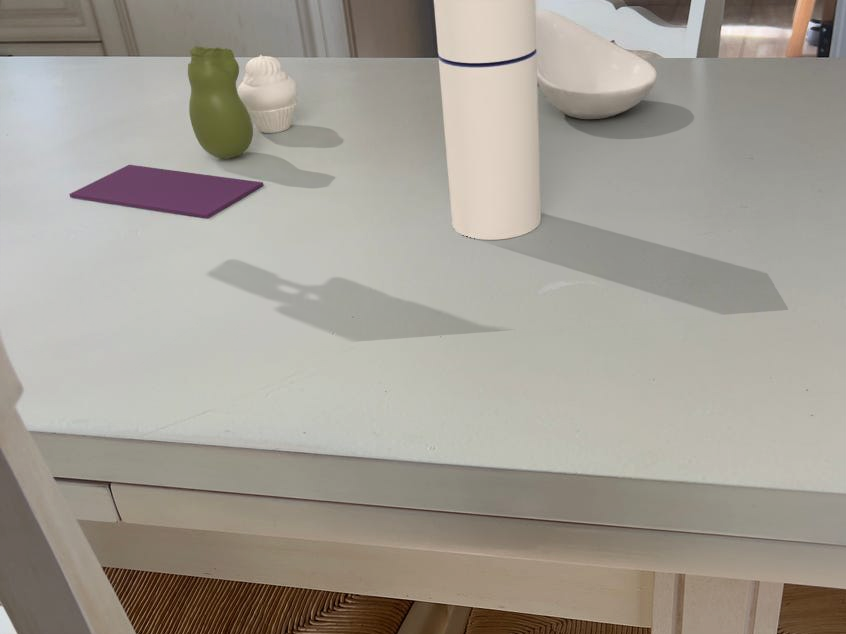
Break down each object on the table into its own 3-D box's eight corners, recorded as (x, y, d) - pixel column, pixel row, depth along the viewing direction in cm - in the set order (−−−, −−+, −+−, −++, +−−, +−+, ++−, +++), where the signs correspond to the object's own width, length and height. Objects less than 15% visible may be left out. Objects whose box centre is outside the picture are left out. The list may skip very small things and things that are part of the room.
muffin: (289, 115, 108) (277, 43, 103) (314, 128, 103) (302, 54, 99) (235, 128, 105) (219, 55, 101) (257, 142, 101) (243, 67, 97)
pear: (190, 163, 98) (162, 50, 91) (223, 145, 101) (199, 35, 95) (236, 168, 96) (212, 53, 89) (269, 150, 99) (247, 38, 93)
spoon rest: (678, 113, 100) (683, 33, 95) (577, 138, 96) (577, 56, 91) (552, 64, 116) (551, -6, 112) (462, 84, 112) (457, 12, 108)
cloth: (69, 197, 92) (68, 194, 92) (129, 167, 98) (129, 164, 98) (207, 218, 86) (206, 215, 86) (263, 185, 92) (263, 182, 91)
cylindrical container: (452, 242, 79) (420, -146, 63) (451, 208, 84) (421, -157, 68) (544, 236, 79) (535, -155, 63) (537, 202, 84) (527, -166, 68)
